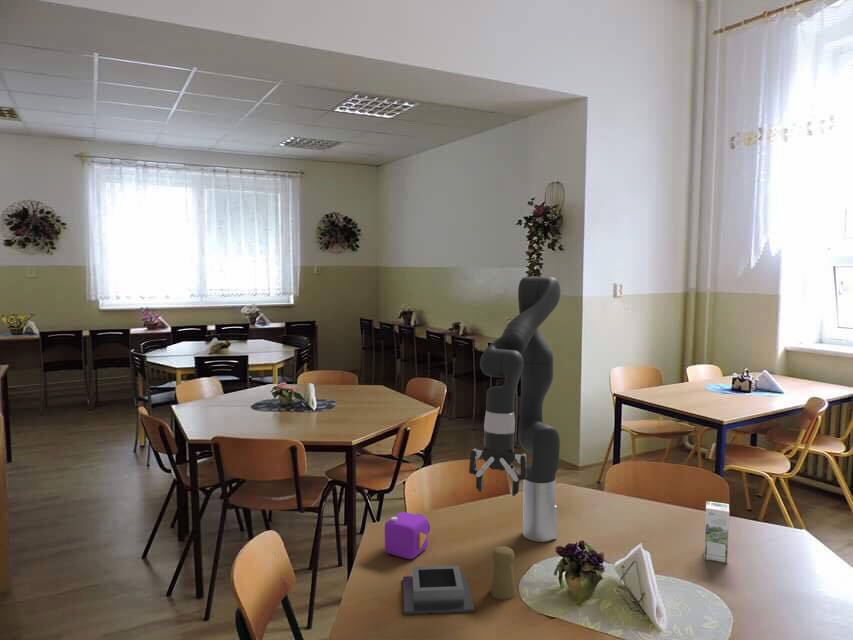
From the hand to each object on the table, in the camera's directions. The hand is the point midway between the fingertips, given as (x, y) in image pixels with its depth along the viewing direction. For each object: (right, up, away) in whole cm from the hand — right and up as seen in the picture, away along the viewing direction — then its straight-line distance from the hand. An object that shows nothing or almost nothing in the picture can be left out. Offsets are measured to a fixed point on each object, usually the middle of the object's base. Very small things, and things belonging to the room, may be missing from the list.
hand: (497, 492), depth 157 cm
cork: (+1, -23, -6) cm, 23 cm away
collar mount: (-15, -23, -7) cm, 28 cm away
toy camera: (-23, -21, +18) cm, 35 cm away
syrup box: (+60, -21, +11) cm, 64 cm away
